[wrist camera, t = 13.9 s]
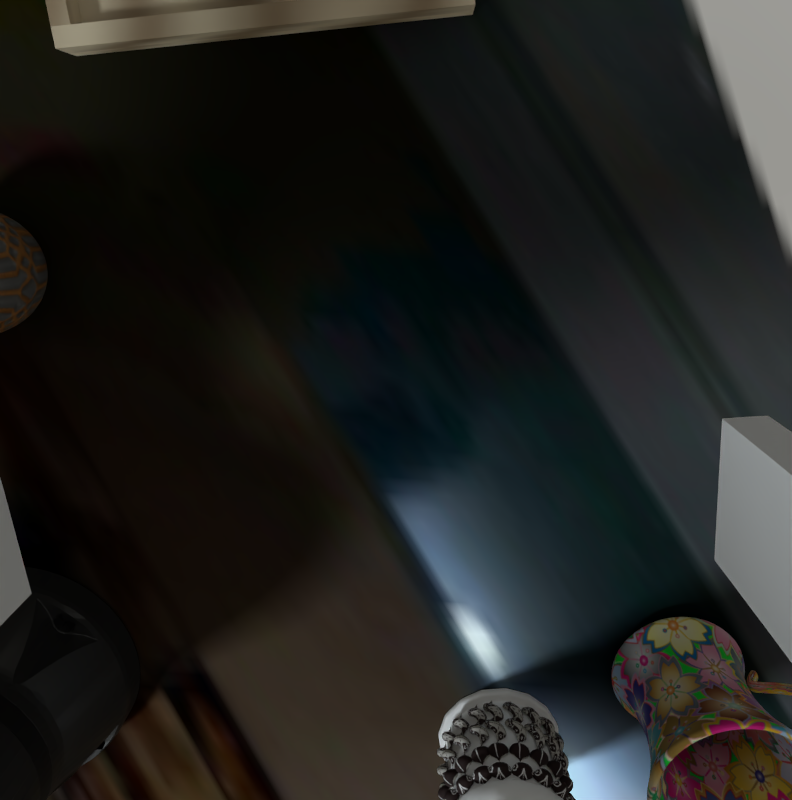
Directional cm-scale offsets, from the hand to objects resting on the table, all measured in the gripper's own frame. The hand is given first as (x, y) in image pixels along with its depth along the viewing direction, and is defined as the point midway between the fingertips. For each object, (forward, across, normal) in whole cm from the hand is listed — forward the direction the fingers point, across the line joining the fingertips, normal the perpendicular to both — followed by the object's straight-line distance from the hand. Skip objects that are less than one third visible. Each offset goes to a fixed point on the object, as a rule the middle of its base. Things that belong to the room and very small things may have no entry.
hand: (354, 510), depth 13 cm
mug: (+29, +17, -26) cm, 42 cm away
